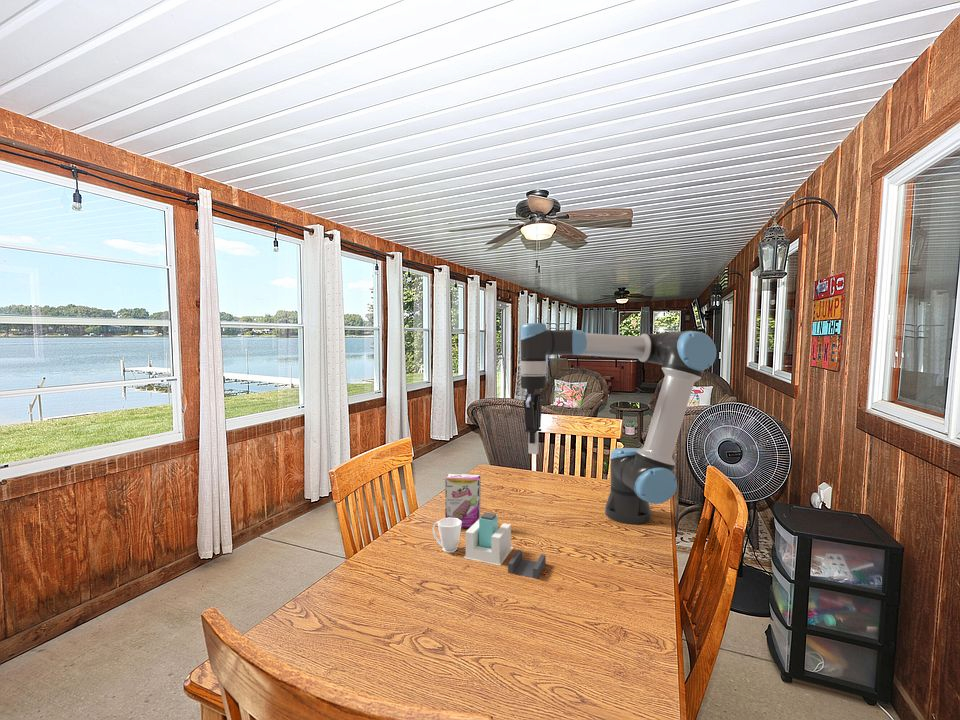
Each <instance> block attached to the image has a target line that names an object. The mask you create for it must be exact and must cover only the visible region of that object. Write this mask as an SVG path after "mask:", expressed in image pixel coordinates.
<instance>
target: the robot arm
mask: <svg viewBox="0 0 960 720" xmlns="http://www.w3.org/2000/svg"><path fill="white" fill-rule="evenodd" d="M519 340H520V363H519V365H518V366H519V367H520V374H521V376H520V387H521V389H525V390H526V394H525V395H524V396H525V399H524V400H523V402H522V403H523V407H524V408H523V409H524V422H525V423H524V424H525V431H524V432H525V433H527V435H528V436H527V438H528V439H527V441H528V442H527V443H528V445H527V447H528V448H527V449H528V450H527V451H528V454H531V455H538V454H539V432H542V428H541V423H542V405H543V399H544V396H543V395H542V394H541V390H544V389H546V387H547V377H546V374H547V356H585V357H586V356H587V357H606V358H619V359H620V358H622V359H623V358H624V359H638V361H640V362H642V363H650V364H651V363H652V364H657V365H661V370H662V372H663V374H664V377H663V380H662V383H661V387H660V391H659V394H658V397H657V400H656V403H655V407H654V411H653V414H652V417H651V419H650V424H649V426H648V427H649V428H648V430H647V434H646V437H645V441H644V443H643V446H642V447H641V448H639V447H638V448H635V447H620V448H619V447H618V448H613V449H612V450H611V453H610V458H609V459H610V490H609V491H610V492H609V495H608V497H607V500H606V504H605V506H604V514H605V515H606V517H608V518H609V519H611V520H613V521H616V522H620V523H623V524H629V525H630V524H632V525H635V524H636V525H637V524H639V525H640V524H646V523H649V522H650V521H651V520H652V516H653V515H652V509H651V505H652V504H653V505H660V504H663V503H666V502H667V501H669V500H670V499H671V498H672V497H674V495H675V494H676V491H677V488H678V481H677V478H676V475H675V474H674V471H675V470H674V469H675V467H676V463H675V461H674V459H673V454H674V452H675V449H676V448H675V447H676V446H677V445H676V444H677V442H678V441H677V440H678V437H679V434H680V431H681V427H682V425H683V421H684V417H685V414H686V411H687V408H688V404H689V401H690V398H691V394H692V391H693V388H694V385H695V383H696V382H698V381H700V380H701V379H702V376H703V374H704V371H705V370H707V369H709V368H710V367H712V365H713V364H714V363H715V360H716V358H717V347H716V343H714V341H713V339H712V338H711V337H710V336H709V335H707V334H706V333H704V332H702V331H697V330H696V331H694V330H686V331H669V332H661V333H642V334H640V335H626V334H625V335H624V334H623V335H622V334H607V333H592V332H585V331H583V330H582V329H581V330H579V329H553V330H551V329H547V325H546V323H543V322H542V323H541V322H539V323H538V322H537V323H536V322H535V323H533V322H531V323H527V322H526V323H523V324H522V325H521V327H520V338H519ZM650 504H651V505H650Z"/></svg>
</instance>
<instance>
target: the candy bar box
mask: <svg viewBox="0 0 960 720" xmlns="http://www.w3.org/2000/svg"><path fill="white" fill-rule="evenodd" d="M481 477H482V476H481V474H468V473H467V474H466V473H447V475H446V476H445V479H444V480H445V511H444V512H445V517H444V518H448V517H451V518H458V519H459V520H461V521H462V524H461V529H462V528H463V529H469V528H470V527H471V526H472V525H473V524H474V523H475V522H476V521H477V520H478V519H480V518H481V489H482V487H481V483H482V481H481Z"/></svg>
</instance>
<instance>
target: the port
mask: <svg viewBox="0 0 960 720" xmlns="http://www.w3.org/2000/svg"><path fill="white" fill-rule="evenodd" d="M513 549H514V547H513V546H512V524H510V523H502V524H501V525H500V527H498V530H497V531H496V532H495V533H494V534H493V535H492V537H491V549H490V548H485V547H479V519H478V520H477V521H476V522H475V523H474V524H473V525H472V526H471V527H470V528H467V530H466V531H465V555H464V556H463V557H462V559H467V560H470V561H476V562H480V563H481V562H482V563H485V564H491V565H494V566H495V565H496V566H499V567H501V565H502V564H503V563H504V561H505V560H506V559H507V557H508V556H509V554H511V552H512V550H513Z"/></svg>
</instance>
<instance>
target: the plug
mask: <svg viewBox="0 0 960 720" xmlns="http://www.w3.org/2000/svg"><path fill="white" fill-rule="evenodd" d="M498 519H499V517H498V515H497V514H496V513H491V512H484V513H483V514H482V515H480V519H479V547H485V548H490V549H491V537H492V535H493V534H494V533H495V532H496V531H497V530H498V529H499V525H498V524H499V521H498Z"/></svg>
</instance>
